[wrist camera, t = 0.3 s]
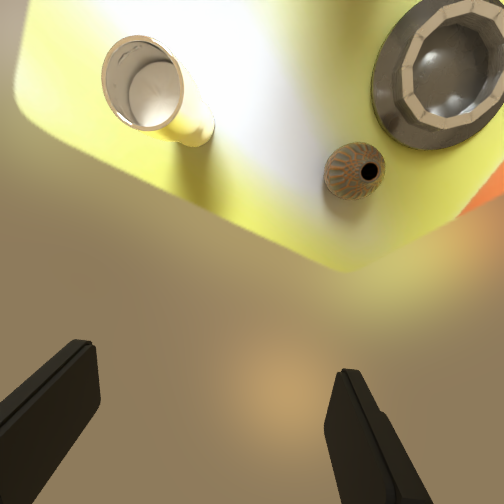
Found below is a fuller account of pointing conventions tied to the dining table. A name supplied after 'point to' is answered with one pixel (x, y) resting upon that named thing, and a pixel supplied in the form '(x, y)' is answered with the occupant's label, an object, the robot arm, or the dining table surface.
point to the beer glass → (155, 92)
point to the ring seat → (440, 73)
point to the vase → (354, 171)
